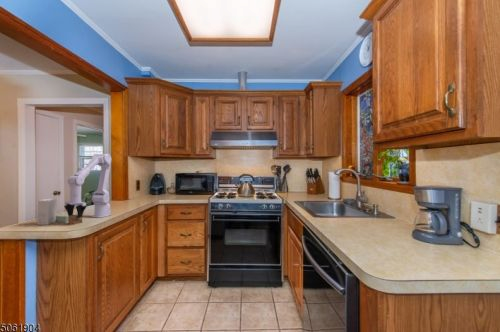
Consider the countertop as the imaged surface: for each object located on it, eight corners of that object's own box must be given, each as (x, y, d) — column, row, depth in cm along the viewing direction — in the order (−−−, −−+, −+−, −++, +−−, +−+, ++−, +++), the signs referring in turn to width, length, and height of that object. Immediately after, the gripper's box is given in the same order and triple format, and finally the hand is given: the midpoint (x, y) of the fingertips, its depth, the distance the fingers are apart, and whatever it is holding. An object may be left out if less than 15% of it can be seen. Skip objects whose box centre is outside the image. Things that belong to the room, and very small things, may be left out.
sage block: (69, 218, 164) (69, 212, 164) (80, 219, 161) (80, 213, 161) (53, 221, 154) (53, 215, 154) (64, 223, 151) (65, 216, 151)
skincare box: (46, 221, 152) (46, 198, 152) (56, 221, 153) (57, 198, 153) (36, 225, 144) (37, 200, 144) (48, 224, 145) (48, 200, 145)
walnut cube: (76, 222, 154) (76, 214, 154) (82, 222, 152) (82, 214, 152) (68, 223, 149) (68, 215, 149) (74, 224, 147) (74, 216, 147)
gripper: (60, 195, 148) (59, 217, 148) (78, 196, 145) (78, 219, 145) (71, 193, 155) (71, 215, 155) (89, 195, 151) (88, 216, 151)
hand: (75, 216), depth 150 cm, fingers open, 7 cm apart
